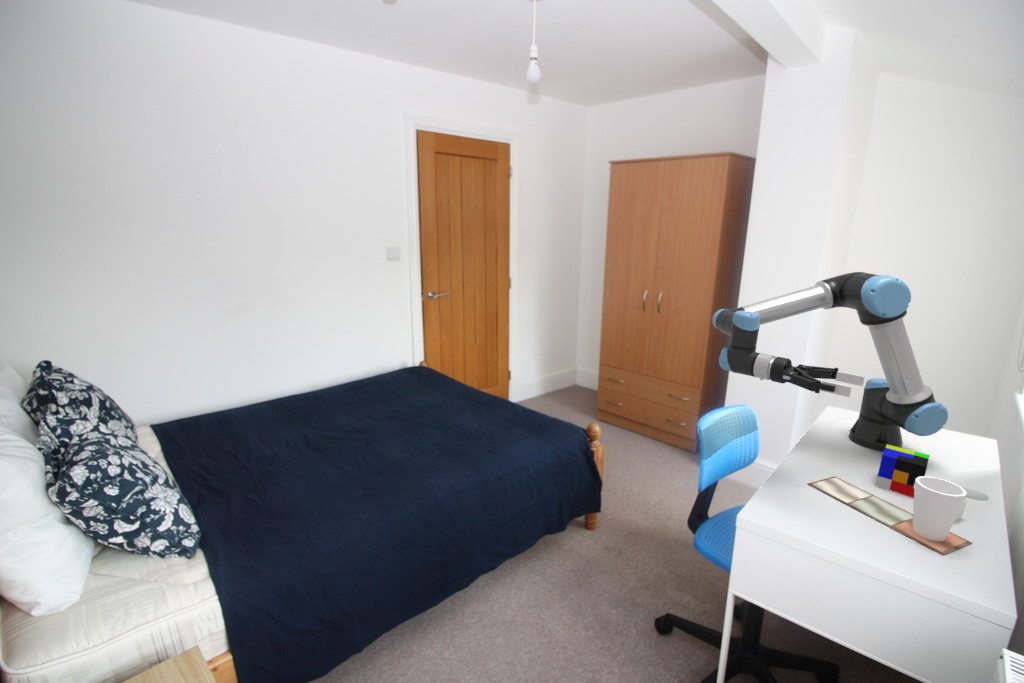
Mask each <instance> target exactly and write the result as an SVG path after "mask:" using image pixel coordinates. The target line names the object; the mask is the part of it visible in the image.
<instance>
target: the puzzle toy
mask: <svg viewBox="0 0 1024 683" xmlns="http://www.w3.org/2000/svg"><path fill="white" fill-rule="evenodd" d="M882 452H883V453H882V454H881V460H880V464H879V468H878V473H877V478H876V482H875V487H877V486H878V488H881V489H883V490H887V489H888V491H890V490H892V491H891V492H894V491H895V492H894V493H897V492H898V493H897V494H900V493H901V494H900V495H903V494H904V495H903V496H907V497H911V498H913V499H914V483H915V479H916V478H918V477H920V476H926V471H927V467H928V464H929V459H930V455H929V454H926V453H923V452H918V451H914V450H912V449H907V448H903V447H902V448H900V447H896V446H892V445H888V444H887V445H886V448H885V450H884V451H882Z"/></svg>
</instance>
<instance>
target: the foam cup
mask: <svg viewBox="0 0 1024 683" xmlns="http://www.w3.org/2000/svg"><path fill="white" fill-rule="evenodd" d="M967 494H968V493H967V491H966V489H964V488H963V487H961V486H960V485H958V484H957V483H954V482H952V481H949V480H946V479H943V478H939V477H934V476H928V475H925V476H920V477H918V478H916V479H915V483H914V498H913V512H912V514H913V531H914V532H916V533H917V534H918V535H920V536H922V537H924V538H926V539H929V540H933V541H944V540H945V539H946V537H947V535H948V533H949V532H951V529H952V527H953V525H954V524H955V522H956V521H955V519H956V517H957V515H958V513H959V511H960V509H961V506H962V504H963V503H965V501H966V500H967Z"/></svg>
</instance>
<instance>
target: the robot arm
mask: <svg viewBox="0 0 1024 683" xmlns="http://www.w3.org/2000/svg"><path fill="white" fill-rule="evenodd" d="M911 300H912V293H911V290H910V288H909V286H908V284H906V282H904V281H903V280H902V279H900V278H897V277H894V276H891V275H887V274H875V273H868V272H863V271H853V272H847V273H843V274H840V275H836V276H833V277H828V278H826V279H823V280H819V281H816V283H815V285H813V286H809V287H807V288H803V289H800V290H796V291H792V292H789V293H785V294H782V295H778V296H775V297H772V298H768V299H764V300H761V301H757V302H754V303H750V304H747V305H744V306H740V307H736V308H733V309H728V308H721V309H719V310H717V311H716V312H714V313H713V315H712V318H711V319H712V321H711V322H712V326H713V327H714V328H715V329H717V330H718V331H719V332H721V333H723V334H725V335H727V336H729V337H730V341H729V346H725V347H723V348H722V349H721V351H720V355H719V356H718V364H719V367H720V368H721V369H722V370H724V371H727V372H732V373H734V374H739V375H743V376H744V375H745V376H748V377H753V378H759V380H760V381H764V380H766V381H770V380H771V382H773V383H774V382H775V383H778V384H786V383H789V384H792V385H795V386H797V387H800V388H803V389H805V390H807V391H811V392H814V393H815V394H820V392H824V393H825V392H826V393H829V394H835V395H838V396H843V397H848V398H850V396H851V391H852V386H850V385H854V386H859V387H863V386H864V388H863V394H862V400H861V405H860V411H859V414H858V418H857V419H856V421H855V422H854V424H853V426H852V427H851V428H850V431H849V434H848V438H849V439H850V440H851V442H854V443H855V444H858V445H860V446H863V447H865V448H867V449H872V450H876V451H881V452H884V450H885V448H886V445H887V444H888V445H892V446H896V447H900V448H903V437H902V436H903V435H902V432H901V431H902V430H901V429H903V430H905V431H906V432H908V433H910V434H913V435H916V436H918V437H928V436H932V435H934V434H936V433H938V432H939V431H940V430H942V429H943V428H944V426H945V425H946V424H947V421H948V419H949V411H948V409H947V407H945V405H943V404H942V403H940V402H938V401H936V399H935V395H934V393H933V390H932V388H931V387H930V386H929V385H926V384H924V382H923V378H922V375H921V372H920V369H919V367H918V366H919V365H918V362H917V360H916V357H915V353H914V351H913V348H912V345H911V344H912V343H911V342H910V338H909V334H908V332H907V329H906V326H905V322H904V318H905V317H906V316H907V314H908V311H907V310H908V308H909V306H910V305H909V303H911ZM834 308H849V309H852V310H856V313H857V316H858V318H859V321H860V323H861V324H862V325H863V326H866V327H867V328H868V330H869V332H870V335H871V339H872V341H873V344H874V347H875V350H876V353H877V356H878V360H879V362H880V365H881V368H882V370H883V373H884V376H885V378H882V377H881V378H880V377H879V378H877V377H875V378H874V377H872V378H870V379H869V378H868V379H867V380H866V382H865V379H866V377H865V376H863V375H860V374H855V373H849V372H845V371H839V368H838V367H834V368H832V367H824V366H823V367H822V366H816V365H815V366H813V365H806V364H800V363H799V364H798V365H797V366H793V365H792V360H791V359H790V358H787V357H782V356H776V355H772V354H767V353H762V352H757V351H756V350H757V345H758V344H757V343H758V336H759V331H760V327H761V325H766V324H769V323H772V322H775V321H779V320H783V319H786V318H790V317H794V316H798V315H800V314H805V313H808V312H809V313H810V312H812V311H816V310H819V309H824V310H830V309H834ZM818 379H821V380H822V379H824V380H822V381H821V380H818ZM825 379H827V380H835V381H836V382H840V383H836V382H832V381H826V380H825ZM864 382H865V383H864ZM841 383H846V384H850V385H846V384H841Z"/></svg>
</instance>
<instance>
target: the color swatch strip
mask: <svg viewBox="0 0 1024 683" xmlns="http://www.w3.org/2000/svg"><path fill="white" fill-rule="evenodd" d="M807 484H808V486H809V485H810V487H811V486H812V487H811V488H813V487H814V488H813V489H815V488H816V489H815V490H817V489H818V490H817V491H819V490H820V491H819V492H821V491H822V492H821V493H823V492H824V493H823V494H825V493H826V494H825V495H826V496H828V495H829V497H830V496H831V497H830V498H832V497H833V499H834V500H836V501H838V502H840V503H841V504H844V505H846V506H847V507H850V508H852V509H853V510H856V511H857V512H859V513H861V514H863V515H865V516H867V517H869V518H871V519H873V520H875V521H877V522H878V523H880V524H883V525H884V526H886V527H888V528H890V529H892V530H893V531H895V532H897V533H899V534H902V535H903V536H904V537H908V538H909V539H911V540H913V541H915V542H917V543H918V544H920V545H922V546H924V547H926V548H928V549H930V550H932V551H934V552H936V553H938V554H940V555H941V556H945V555H948V554H951V553H952V552H955V551H957V550H959V549H962V547H963V548H965V547H967V546H969V544H970V545H972V544H973V542H972V541H969V540H967V539H966V538H963V537H961V536H959V535H957V534H955V533H953V532H951V531H949V533H948V535H947V537H946V539H945V540H944V541H933V540H929V539H926V538H924V537H922V536H920V535H918V534H917V533H916V532H914V531H913V512H912V513H911V512H909V511H907V510H906V509H903V508H901V507H899V506H897V505H895V504H893V503H890V502H888V501H887V500H884V499H882V498H880V497H878V496H876V495H874V494H872V493H870V492H868V491H866V490H864V489H862V488H859V487H857V486H855V485H854V484H851V483H849V482H847V481H845V480H843V479H841V478H839V477H837V476H830V477H827V478H824V479H819V480H816V481H813V482H808V483H807ZM971 543H972V544H971Z"/></svg>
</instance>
